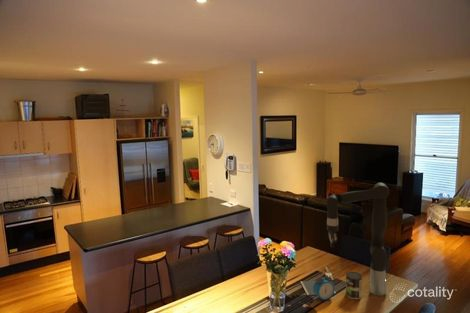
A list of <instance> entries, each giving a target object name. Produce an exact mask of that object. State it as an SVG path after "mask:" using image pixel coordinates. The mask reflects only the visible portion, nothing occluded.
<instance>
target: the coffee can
mask: <svg viewBox="0 0 470 313" xmlns="http://www.w3.org/2000/svg"><path fill="white" fill-rule="evenodd" d="M362 293H363V275H362V274H361V273H359V272H356V271H348V272H346V273H345V295H346V297H348V298H349V299H351V300H360V299H362V297H363V294H362Z"/></svg>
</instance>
